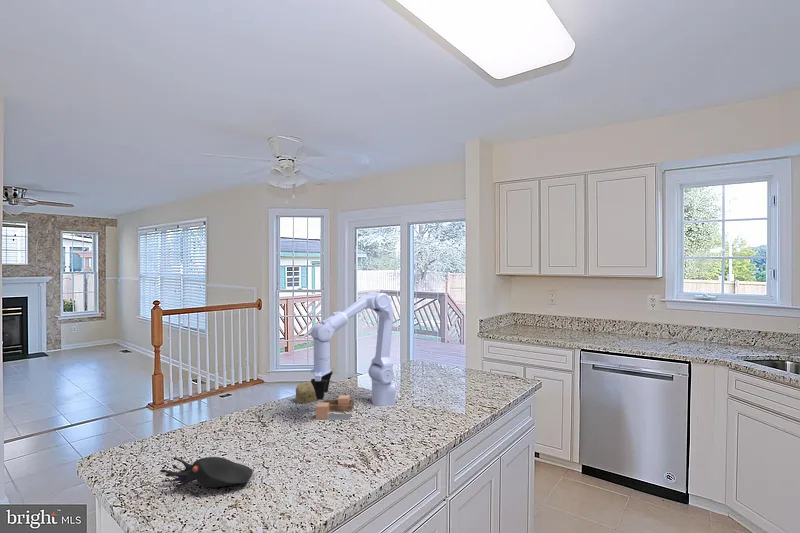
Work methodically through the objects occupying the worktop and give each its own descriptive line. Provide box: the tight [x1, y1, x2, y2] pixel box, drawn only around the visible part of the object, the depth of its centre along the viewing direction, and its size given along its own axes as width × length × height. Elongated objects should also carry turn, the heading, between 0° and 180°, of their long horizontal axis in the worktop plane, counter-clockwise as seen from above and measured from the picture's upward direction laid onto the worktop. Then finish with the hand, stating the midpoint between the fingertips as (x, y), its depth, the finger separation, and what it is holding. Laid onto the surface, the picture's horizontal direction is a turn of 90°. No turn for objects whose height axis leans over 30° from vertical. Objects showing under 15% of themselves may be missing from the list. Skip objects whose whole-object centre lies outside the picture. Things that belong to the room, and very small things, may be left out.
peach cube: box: [337, 394, 351, 405], centre depth 160 cm, size 4×4×4 cm
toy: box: [160, 456, 254, 488], centre depth 108 cm, size 10×21×10 cm, turn 96°
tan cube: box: [315, 402, 330, 420], centre depth 151 cm, size 4×4×4 cm
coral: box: [295, 380, 318, 404], centre depth 170 cm, size 9×9×8 cm
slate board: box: [315, 413, 353, 421], centre depth 151 cm, size 12×6×1 cm, turn 89°
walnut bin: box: [323, 398, 355, 413], centre depth 160 cm, size 11×7×3 cm, turn 89°
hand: (322, 395), depth 151 cm, fingers open, 7 cm apart
